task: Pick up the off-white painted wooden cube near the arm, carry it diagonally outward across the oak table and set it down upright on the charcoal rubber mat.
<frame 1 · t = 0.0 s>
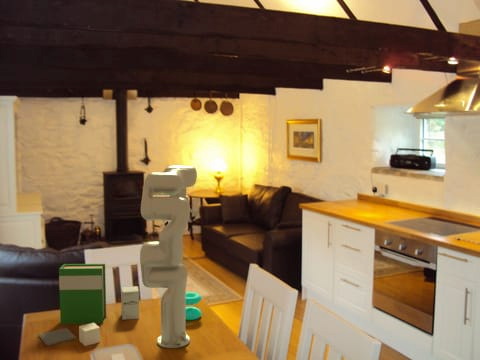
hand: (178, 230, 225), 37 cm above the table, tool pointing down, fingers open, 9 cm apart
donuts: (190, 317, 222), on the table
hardback book: (83, 320, 217), on the table
supplement box: (130, 316, 222), on the table
painted cube: (89, 341, 196), on the table
charcoal mat: (57, 337, 200), on the table
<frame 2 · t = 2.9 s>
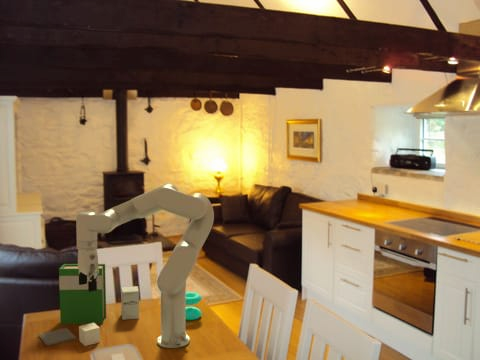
hand: (87, 287, 194), 22 cm above the table, tool pointing down, fingers open, 9 cm apart
nothing on the table moved.
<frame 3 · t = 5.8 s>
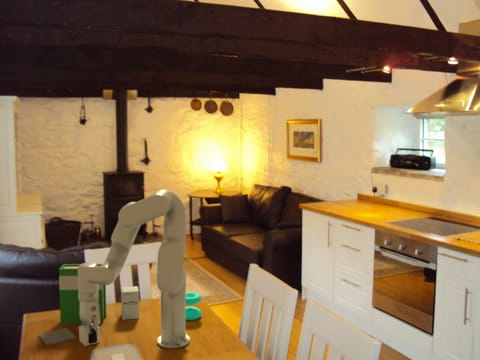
hand: (89, 339, 196), 1 cm above the table, tool pointing down, fingers closed on painted cube, 6 cm apart
painted cube: (89, 341, 196), on the table, touching gripper
everything else where it was.
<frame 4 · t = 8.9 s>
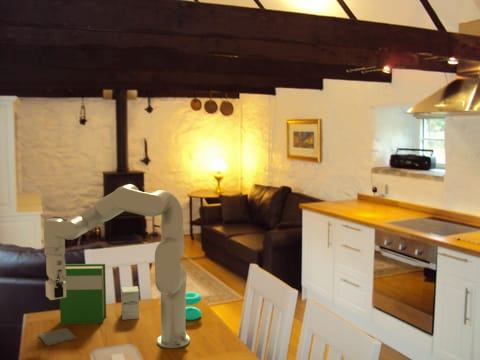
hand: (56, 294, 198), 18 cm above the table, tool pointing down, fingers closed on painted cube, 6 cm apart
painted cube: (56, 296, 198), point 17 cm above the table, touching gripper
everything else where it was.
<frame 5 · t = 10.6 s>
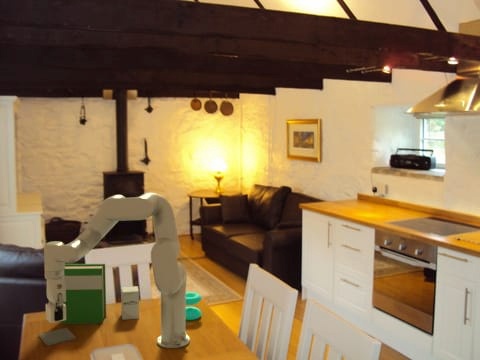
hand: (56, 317, 199), 8 cm above the table, tool pointing down, fingers closed on painted cube, 6 cm apart
painted cube: (56, 319, 199), point 8 cm above the table, touching gripper
everything else where it was.
when the fingers open (3 cm above the table, at t = 12.1 s): painted cube drops 1 cm, resting on charcoal mat.
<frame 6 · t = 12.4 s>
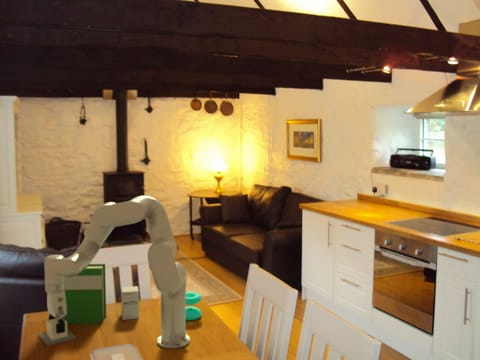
hand: (56, 328, 199), 4 cm above the table, tool pointing down, fingers open, 8 cm apart
painted cube: (57, 335, 199), point 1 cm above the table, touching charcoal mat
everything else where it was.
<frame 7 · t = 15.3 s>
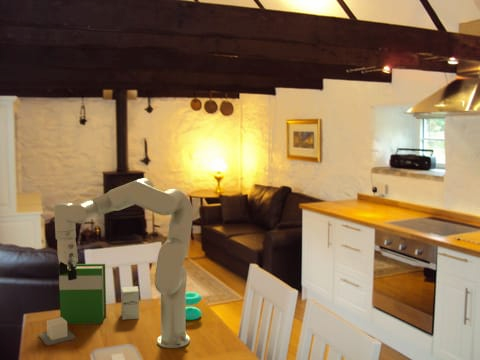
hand: (67, 276, 198), 24 cm above the table, tool pointing down, fingers open, 9 cm apart
nothing on the table moved.
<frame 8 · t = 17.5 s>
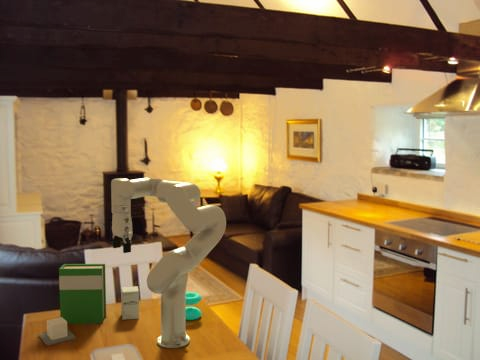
hand: (121, 250, 206), 33 cm above the table, tool pointing down, fingers open, 9 cm apart
nothing on the table moved.
at the end: painted cube 0.0 cm off-centre on the charcoal mat, point 0.8 cm above the charcoal mat's base; painted cube tilted 0°; the gripper is holding nothing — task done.
